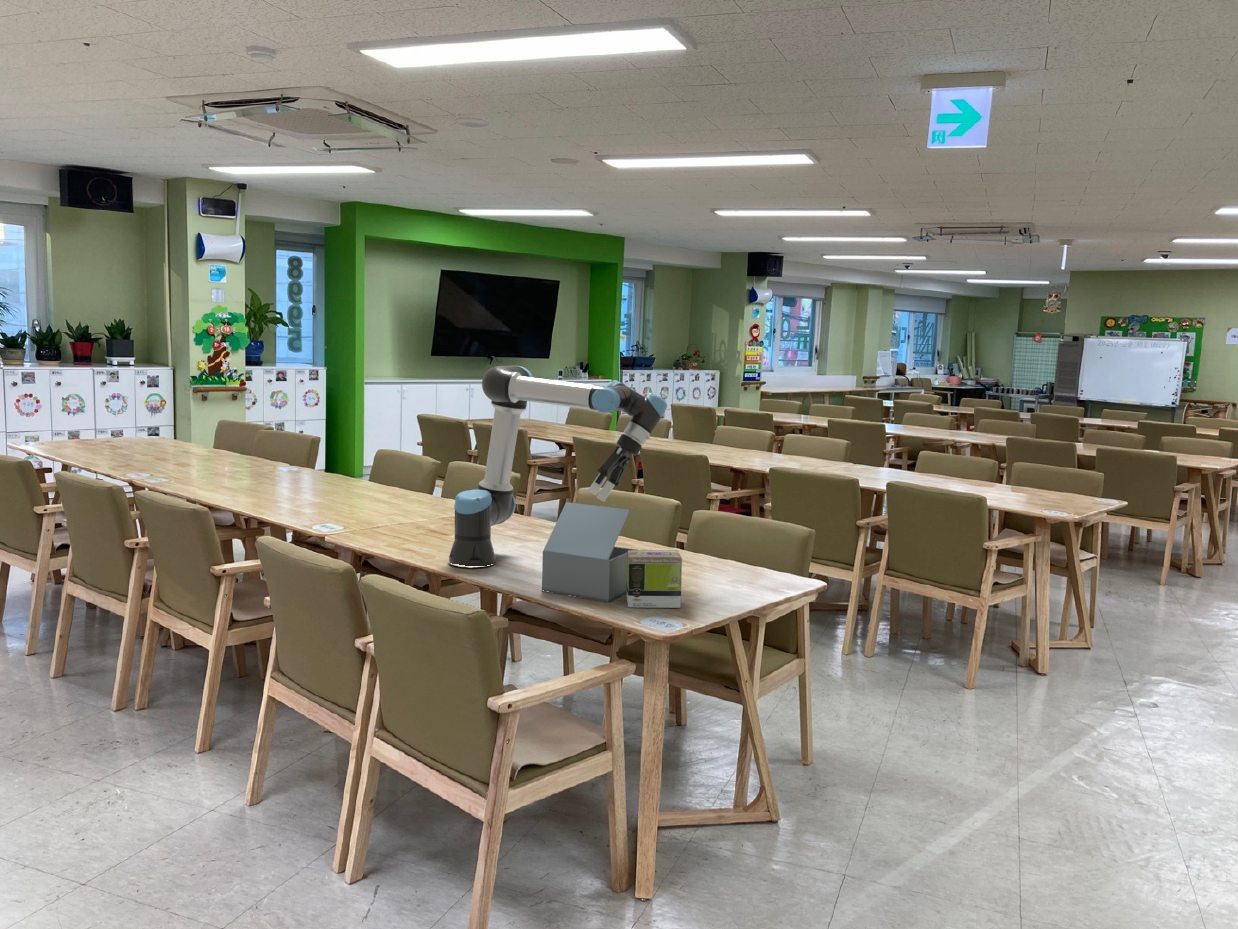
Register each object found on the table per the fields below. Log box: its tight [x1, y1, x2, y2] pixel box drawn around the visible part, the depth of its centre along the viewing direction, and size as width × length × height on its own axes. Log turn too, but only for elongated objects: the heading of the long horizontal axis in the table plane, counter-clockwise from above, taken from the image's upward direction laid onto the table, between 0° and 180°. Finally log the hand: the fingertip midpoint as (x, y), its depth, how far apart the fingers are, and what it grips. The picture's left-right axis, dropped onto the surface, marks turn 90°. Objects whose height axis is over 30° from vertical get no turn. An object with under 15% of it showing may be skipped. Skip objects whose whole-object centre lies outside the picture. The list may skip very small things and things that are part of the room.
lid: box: [543, 502, 630, 561], centre depth 275 cm, size 21×18×1 cm
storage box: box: [541, 546, 638, 603], centre depth 280 cm, size 22×18×12 cm
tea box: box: [625, 549, 683, 609], centre depth 267 cm, size 15×10×15 cm, turn 92°
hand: (595, 496), depth 295 cm, fingers open, 13 cm apart
